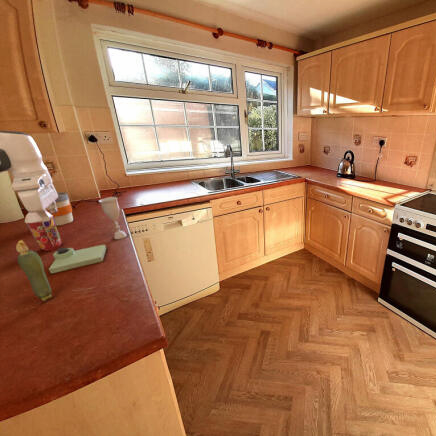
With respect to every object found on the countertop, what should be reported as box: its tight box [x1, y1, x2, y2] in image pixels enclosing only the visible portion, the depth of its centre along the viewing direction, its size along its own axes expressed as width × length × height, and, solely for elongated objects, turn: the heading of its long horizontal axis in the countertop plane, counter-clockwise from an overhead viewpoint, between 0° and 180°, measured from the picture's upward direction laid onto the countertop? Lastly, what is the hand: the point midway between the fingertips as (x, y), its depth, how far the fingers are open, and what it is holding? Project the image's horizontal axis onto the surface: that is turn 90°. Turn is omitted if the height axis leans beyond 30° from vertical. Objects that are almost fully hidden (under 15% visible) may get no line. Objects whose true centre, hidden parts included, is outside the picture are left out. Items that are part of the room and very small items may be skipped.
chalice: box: [98, 196, 127, 240], centre depth 109 cm, size 7×7×18 cm
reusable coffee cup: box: [46, 191, 74, 227], centre depth 129 cm, size 13×12×15 cm
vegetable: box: [15, 239, 53, 302], centre depth 70 cm, size 4×4×20 cm
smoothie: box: [24, 211, 63, 252], centre depth 101 cm, size 8×8×20 cm
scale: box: [48, 243, 107, 274], centre depth 93 cm, size 15×12×4 cm
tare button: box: [56, 246, 69, 254], centre depth 93 cm, size 3×3×2 cm
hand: (51, 216), depth 90 cm, fingers open, 8 cm apart
